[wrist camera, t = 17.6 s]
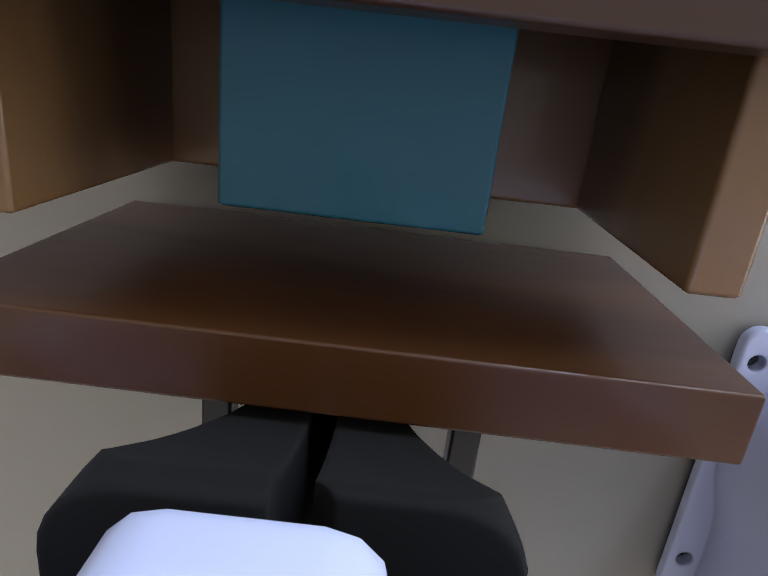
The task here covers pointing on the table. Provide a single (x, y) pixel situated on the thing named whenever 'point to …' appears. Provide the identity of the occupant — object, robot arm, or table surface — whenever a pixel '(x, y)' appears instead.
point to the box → (360, 114)
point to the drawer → (388, 246)
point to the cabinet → (600, 19)
